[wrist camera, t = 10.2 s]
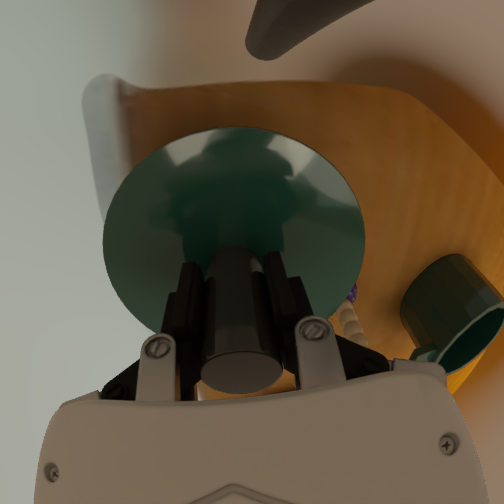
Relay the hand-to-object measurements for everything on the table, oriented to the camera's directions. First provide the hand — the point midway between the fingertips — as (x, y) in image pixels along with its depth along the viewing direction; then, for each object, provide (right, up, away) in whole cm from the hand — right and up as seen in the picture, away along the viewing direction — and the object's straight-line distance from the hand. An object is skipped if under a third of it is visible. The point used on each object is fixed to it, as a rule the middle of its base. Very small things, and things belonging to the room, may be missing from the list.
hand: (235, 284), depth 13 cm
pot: (+26, -4, +18) cm, 32 cm away
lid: (0, +1, +1) cm, 2 cm away
